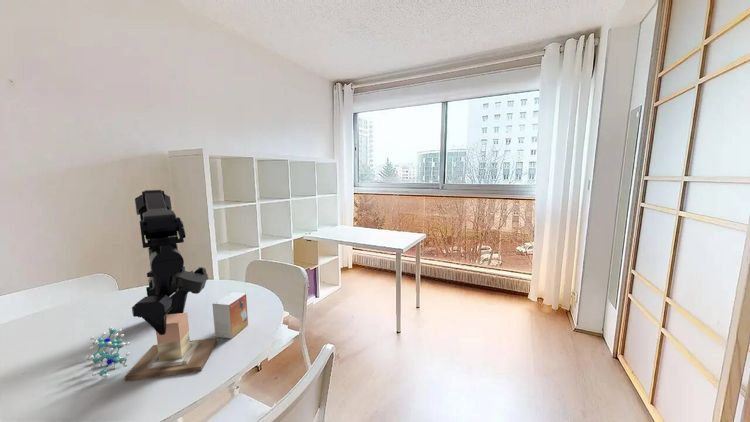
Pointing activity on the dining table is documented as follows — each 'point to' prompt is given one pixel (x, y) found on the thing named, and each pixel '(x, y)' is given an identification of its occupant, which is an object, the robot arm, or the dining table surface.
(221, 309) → the small box
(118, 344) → the molecule model
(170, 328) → the terracotta block
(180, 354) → the maple block
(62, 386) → the dining table surface
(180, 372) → the walnut board
